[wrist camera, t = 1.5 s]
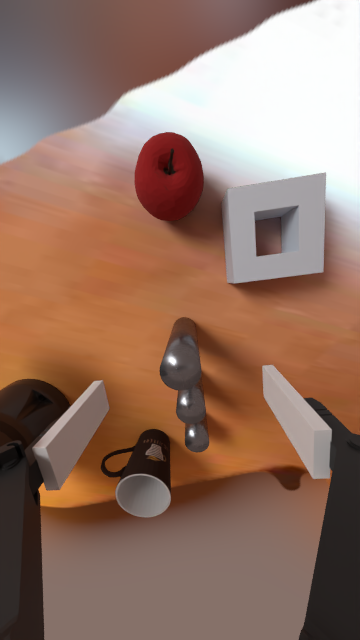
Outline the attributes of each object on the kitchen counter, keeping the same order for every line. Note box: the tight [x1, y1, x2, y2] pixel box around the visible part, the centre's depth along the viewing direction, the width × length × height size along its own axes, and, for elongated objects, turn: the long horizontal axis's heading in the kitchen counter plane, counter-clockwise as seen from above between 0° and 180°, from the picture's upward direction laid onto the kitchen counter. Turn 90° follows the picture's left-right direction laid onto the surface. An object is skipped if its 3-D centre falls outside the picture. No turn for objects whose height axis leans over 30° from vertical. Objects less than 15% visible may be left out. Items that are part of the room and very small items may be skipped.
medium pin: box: [176, 376, 206, 424], centre depth 31 cm, size 4×4×10 cm
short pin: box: [185, 414, 209, 452], centre depth 35 cm, size 4×4×6 cm
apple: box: [135, 132, 204, 221], centre depth 25 cm, size 9×9×10 cm
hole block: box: [221, 173, 326, 283], centre depth 28 cm, size 12×12×5 cm
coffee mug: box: [101, 429, 171, 517], centre depth 35 cm, size 12×9×10 cm
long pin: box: [160, 317, 201, 390], centre depth 27 cm, size 4×4×16 cm
